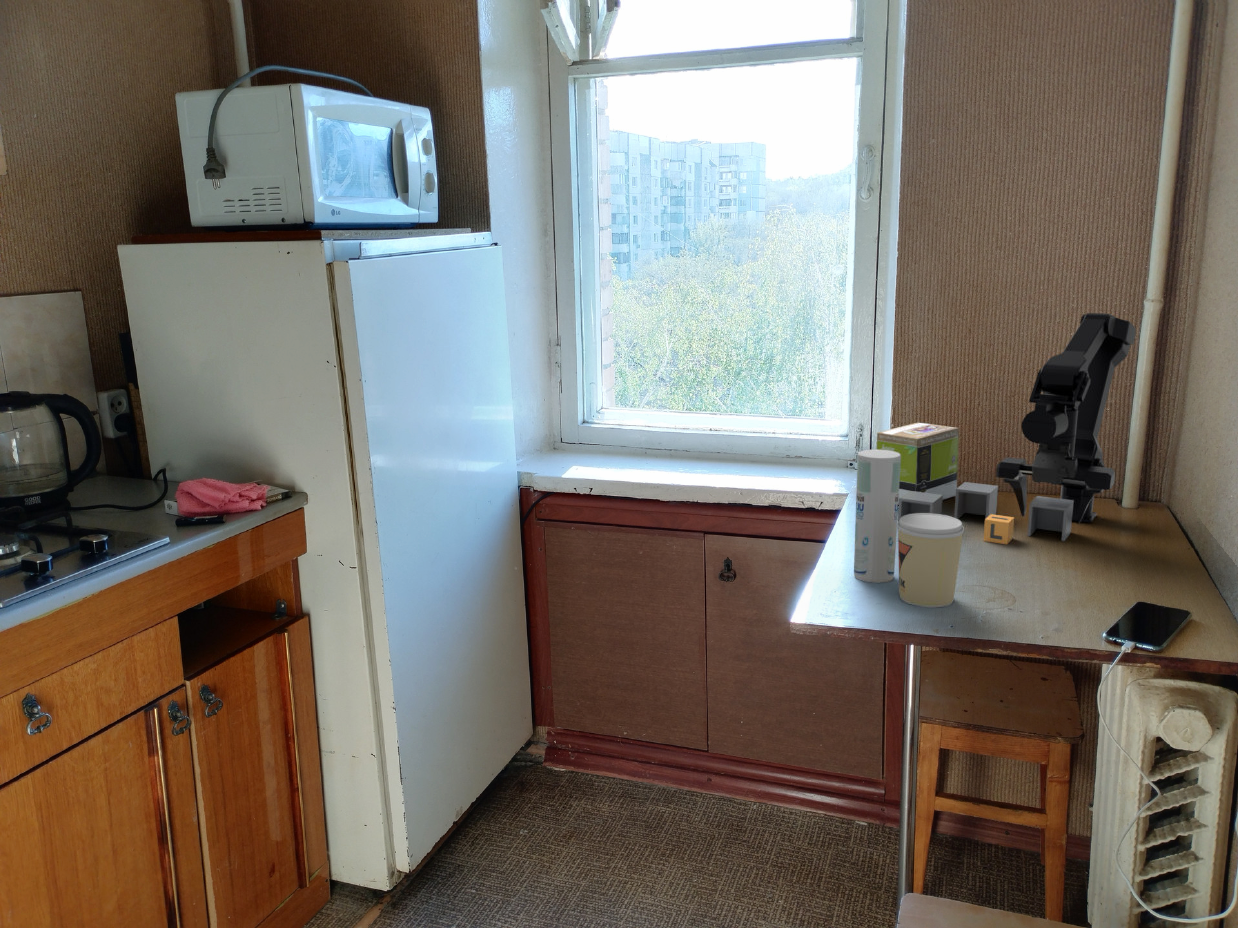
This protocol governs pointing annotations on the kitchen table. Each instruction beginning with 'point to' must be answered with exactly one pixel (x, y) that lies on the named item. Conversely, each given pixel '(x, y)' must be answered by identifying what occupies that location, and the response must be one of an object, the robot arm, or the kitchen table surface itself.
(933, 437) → the tea box
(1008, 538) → the orange cube
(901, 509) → the grey u-shaped block
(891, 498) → the spray can
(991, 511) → the open box
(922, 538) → the coffee cup
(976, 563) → the kitchen table surface
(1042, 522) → the grey bracket
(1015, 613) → the kitchen table surface
